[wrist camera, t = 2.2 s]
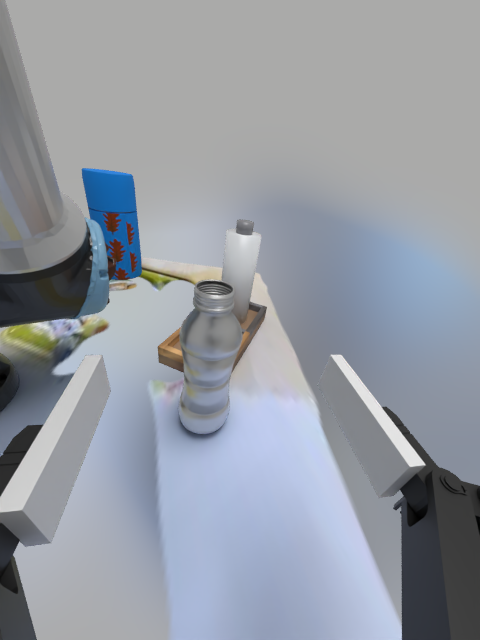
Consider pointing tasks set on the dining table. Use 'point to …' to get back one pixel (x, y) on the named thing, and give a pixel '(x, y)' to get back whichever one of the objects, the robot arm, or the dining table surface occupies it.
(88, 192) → the thermos
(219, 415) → the plastic bottle
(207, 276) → the dining table surface
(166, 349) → the tray
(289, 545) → the dining table surface
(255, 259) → the bottle
